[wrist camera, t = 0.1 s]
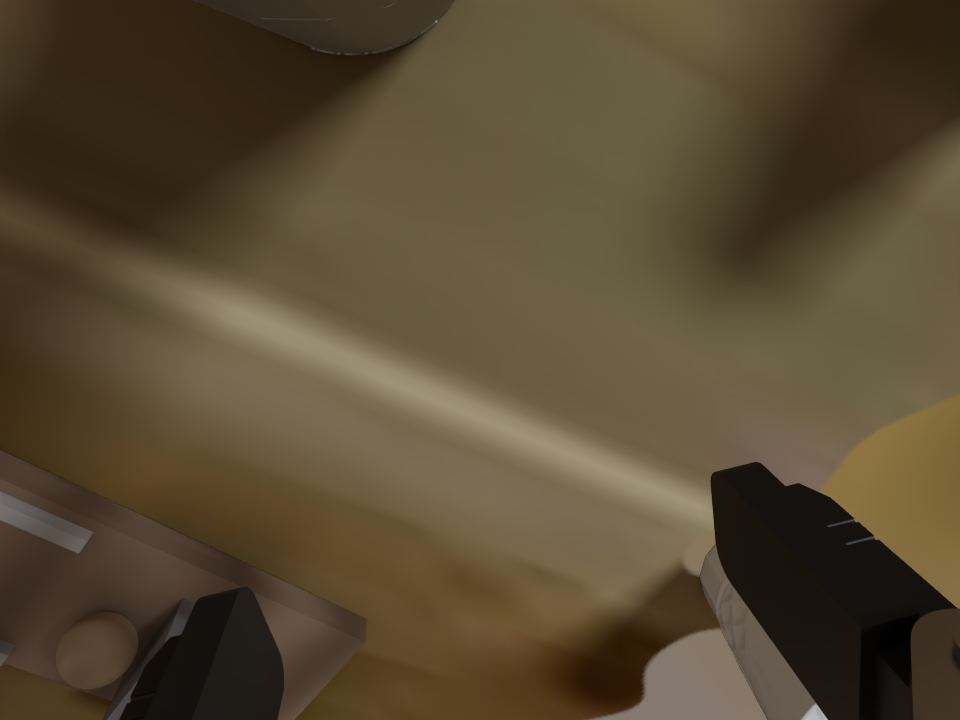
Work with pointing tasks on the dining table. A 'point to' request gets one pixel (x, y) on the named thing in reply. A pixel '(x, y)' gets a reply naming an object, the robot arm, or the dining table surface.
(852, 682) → the robot arm
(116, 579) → the press base
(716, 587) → the white cup
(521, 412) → the dining table surface
